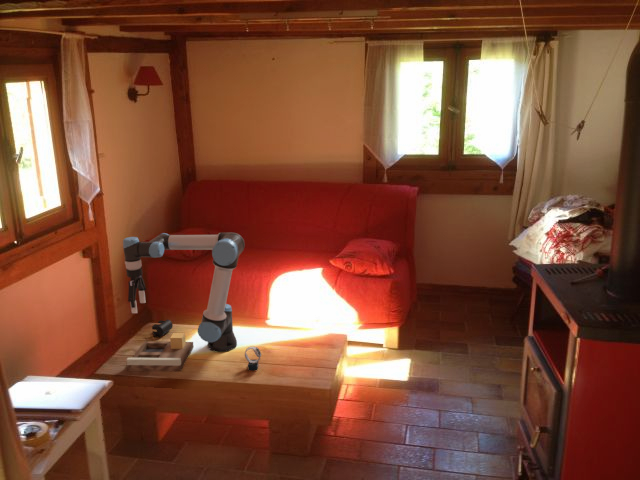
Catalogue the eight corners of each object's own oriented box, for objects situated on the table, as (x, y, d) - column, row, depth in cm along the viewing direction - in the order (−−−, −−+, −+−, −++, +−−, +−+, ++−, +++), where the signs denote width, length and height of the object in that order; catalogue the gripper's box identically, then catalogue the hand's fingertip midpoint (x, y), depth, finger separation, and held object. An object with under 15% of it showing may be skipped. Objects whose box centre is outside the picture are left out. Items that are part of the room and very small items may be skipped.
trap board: (193, 347, 311) (192, 336, 310) (180, 371, 286) (179, 359, 285) (144, 346, 312) (143, 336, 311) (127, 370, 287) (126, 359, 286)
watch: (261, 370, 286) (260, 350, 283) (244, 370, 286) (243, 350, 283) (262, 365, 292) (261, 344, 289) (246, 365, 292) (245, 344, 289)
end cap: (163, 338, 322) (162, 327, 320) (152, 337, 324) (151, 325, 322) (173, 331, 331) (172, 319, 329) (162, 329, 333) (161, 318, 331)
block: (185, 343, 309) (184, 333, 307) (182, 348, 303) (181, 338, 301) (174, 343, 309) (173, 332, 307) (171, 348, 303) (170, 337, 301)
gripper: (134, 260, 305) (139, 298, 311) (117, 276, 281) (123, 317, 287) (148, 260, 305) (153, 298, 311) (133, 276, 281) (138, 317, 287)
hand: (138, 307), depth 299 cm, fingers open, 13 cm apart
